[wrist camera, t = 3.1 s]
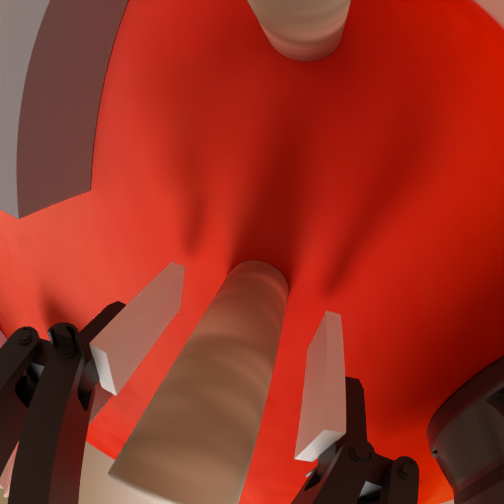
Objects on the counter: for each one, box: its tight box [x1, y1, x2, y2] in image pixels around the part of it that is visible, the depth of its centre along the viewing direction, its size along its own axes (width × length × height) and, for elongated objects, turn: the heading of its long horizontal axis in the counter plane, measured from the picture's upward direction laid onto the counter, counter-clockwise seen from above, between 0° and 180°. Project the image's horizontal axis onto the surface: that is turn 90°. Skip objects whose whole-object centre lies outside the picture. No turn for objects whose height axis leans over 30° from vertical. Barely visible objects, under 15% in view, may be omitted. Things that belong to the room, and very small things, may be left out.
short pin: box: [247, 0, 351, 61], centre depth 7 cm, size 4×4×6 cm
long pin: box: [108, 261, 289, 504], centre depth 10 cm, size 4×4×12 cm
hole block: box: [0, 0, 128, 219], centre depth 10 cm, size 18×16×6 cm
